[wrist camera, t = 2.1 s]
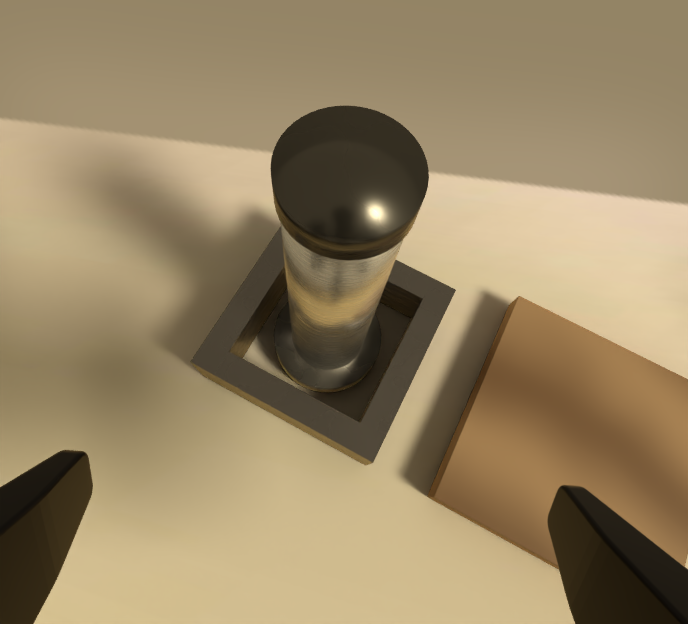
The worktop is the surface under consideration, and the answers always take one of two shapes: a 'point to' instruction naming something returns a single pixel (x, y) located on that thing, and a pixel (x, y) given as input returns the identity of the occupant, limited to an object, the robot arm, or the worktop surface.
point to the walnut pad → (568, 435)
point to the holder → (293, 404)
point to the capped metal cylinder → (341, 236)
